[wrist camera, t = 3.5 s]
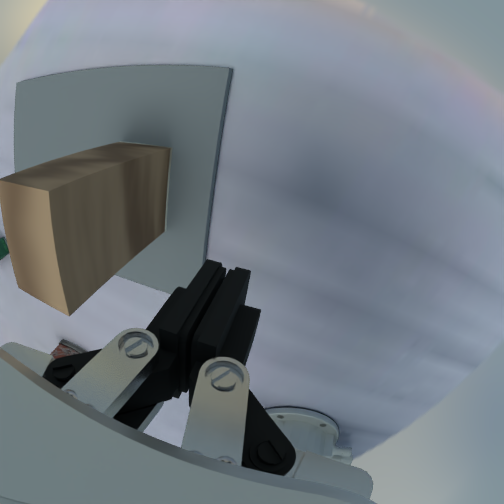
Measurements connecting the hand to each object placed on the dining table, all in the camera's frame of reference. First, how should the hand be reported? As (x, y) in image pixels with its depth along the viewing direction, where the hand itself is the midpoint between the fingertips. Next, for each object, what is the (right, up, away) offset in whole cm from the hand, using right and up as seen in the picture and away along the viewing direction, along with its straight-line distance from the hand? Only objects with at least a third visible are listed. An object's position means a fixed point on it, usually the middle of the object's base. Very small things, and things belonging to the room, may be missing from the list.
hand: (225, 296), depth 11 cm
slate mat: (-15, +9, +13) cm, 22 cm away
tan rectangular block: (-8, +7, +12) cm, 16 cm away
